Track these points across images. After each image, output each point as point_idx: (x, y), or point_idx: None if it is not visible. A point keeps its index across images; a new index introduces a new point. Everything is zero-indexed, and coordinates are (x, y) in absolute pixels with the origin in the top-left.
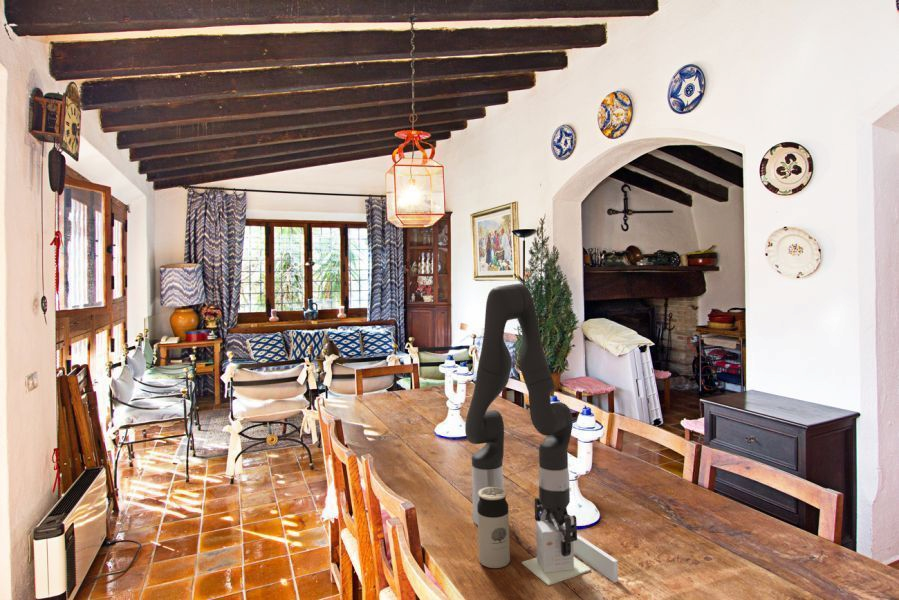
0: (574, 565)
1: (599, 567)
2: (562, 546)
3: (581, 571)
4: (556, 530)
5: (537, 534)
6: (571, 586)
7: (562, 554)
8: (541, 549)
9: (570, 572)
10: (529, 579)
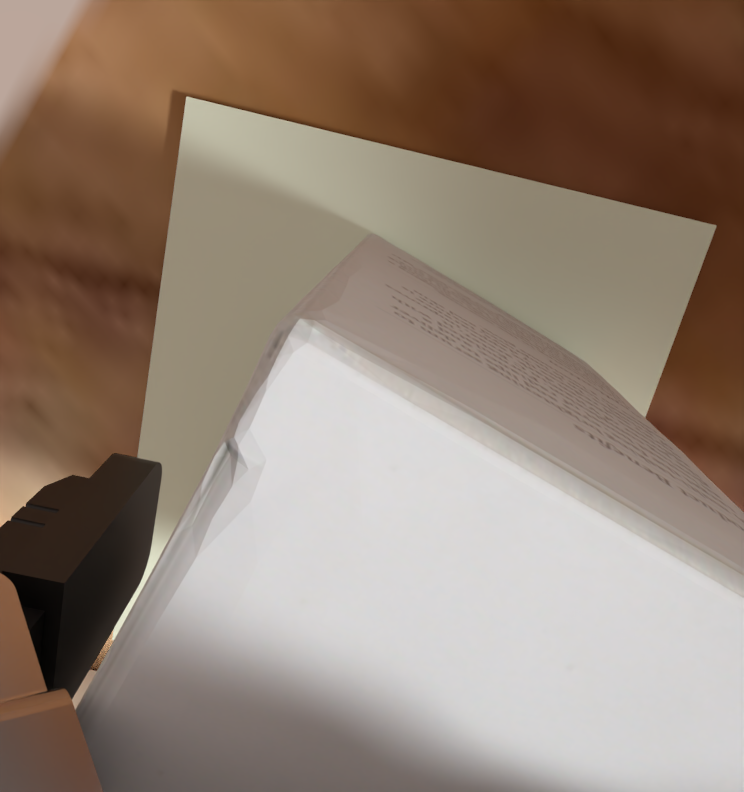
0: None
1: None
2: (64, 520)
3: None
4: (60, 710)
5: (667, 464)
6: (35, 290)
7: (131, 460)
8: (422, 291)
9: (192, 461)
10: (425, 26)
